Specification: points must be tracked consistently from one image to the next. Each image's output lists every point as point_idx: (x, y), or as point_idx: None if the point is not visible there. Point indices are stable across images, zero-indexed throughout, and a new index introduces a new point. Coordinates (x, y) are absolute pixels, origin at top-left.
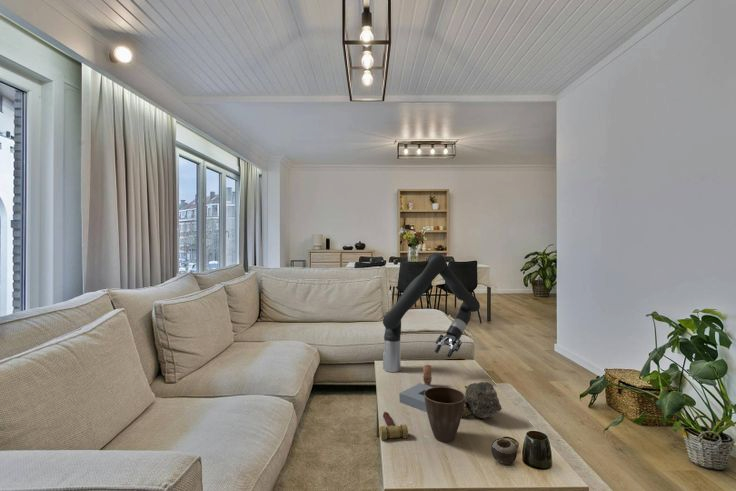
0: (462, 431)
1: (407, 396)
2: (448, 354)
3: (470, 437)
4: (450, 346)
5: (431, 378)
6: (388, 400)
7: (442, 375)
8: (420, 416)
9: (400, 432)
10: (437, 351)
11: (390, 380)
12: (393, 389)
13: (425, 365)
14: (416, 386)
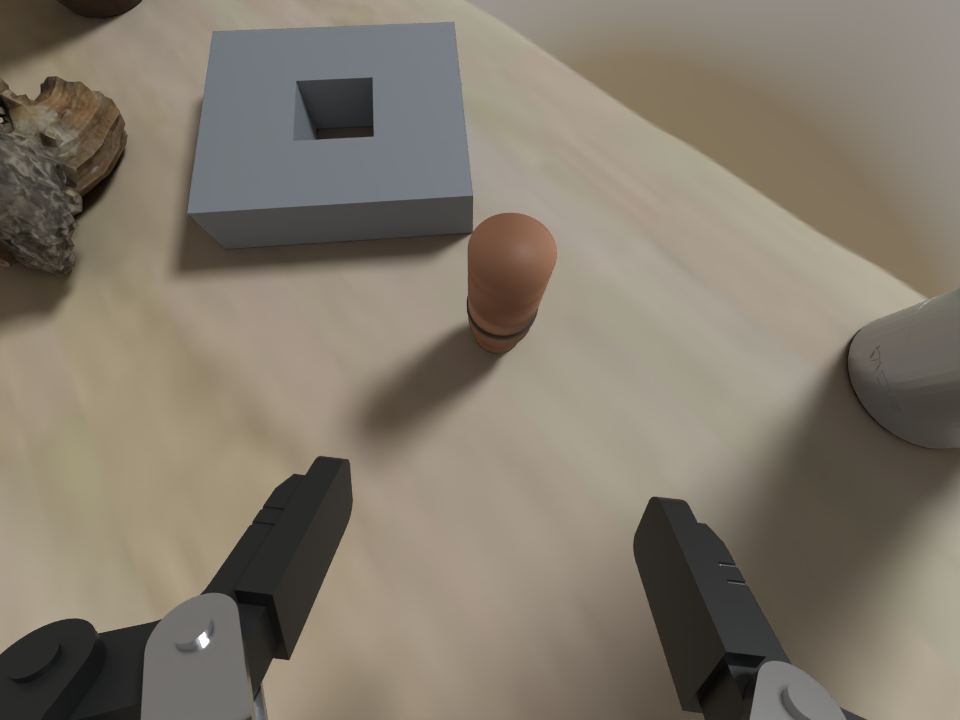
0: (53, 58)
1: (395, 27)
2: (307, 481)
3: (4, 44)
4: (242, 693)
5: (470, 320)
6: (507, 52)
7: (566, 615)
8: None
9: None
10: (648, 556)
11: (727, 226)
12: (598, 149)
13: (543, 254)
14: (449, 141)
